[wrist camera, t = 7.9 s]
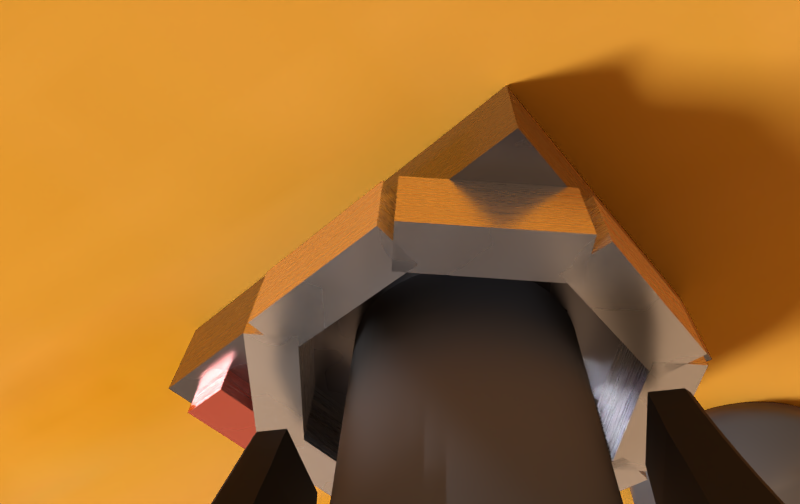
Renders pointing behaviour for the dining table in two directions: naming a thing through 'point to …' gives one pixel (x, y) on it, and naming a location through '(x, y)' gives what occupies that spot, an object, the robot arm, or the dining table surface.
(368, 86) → the dining table surface
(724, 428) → the lens cap
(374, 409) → the lens
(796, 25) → the dining table surface
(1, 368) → the dining table surface
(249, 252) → the dining table surface
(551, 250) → the grey octagonal container
